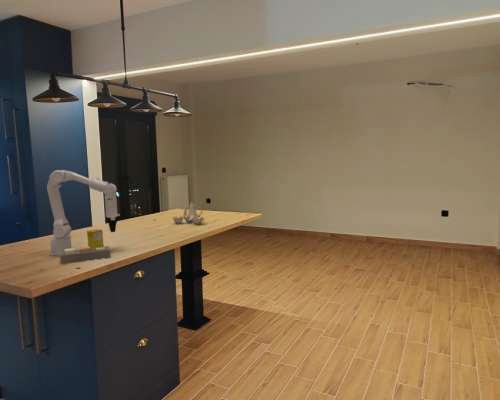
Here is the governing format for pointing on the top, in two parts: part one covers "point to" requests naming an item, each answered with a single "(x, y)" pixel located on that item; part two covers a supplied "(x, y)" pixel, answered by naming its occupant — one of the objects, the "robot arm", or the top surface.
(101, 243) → the supplement box
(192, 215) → the chinaware
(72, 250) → the cream button
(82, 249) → the terracotta button
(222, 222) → the top surface
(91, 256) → the console
